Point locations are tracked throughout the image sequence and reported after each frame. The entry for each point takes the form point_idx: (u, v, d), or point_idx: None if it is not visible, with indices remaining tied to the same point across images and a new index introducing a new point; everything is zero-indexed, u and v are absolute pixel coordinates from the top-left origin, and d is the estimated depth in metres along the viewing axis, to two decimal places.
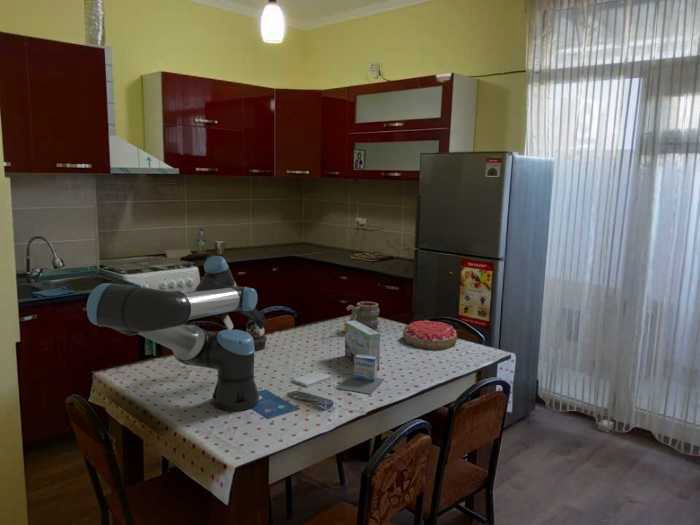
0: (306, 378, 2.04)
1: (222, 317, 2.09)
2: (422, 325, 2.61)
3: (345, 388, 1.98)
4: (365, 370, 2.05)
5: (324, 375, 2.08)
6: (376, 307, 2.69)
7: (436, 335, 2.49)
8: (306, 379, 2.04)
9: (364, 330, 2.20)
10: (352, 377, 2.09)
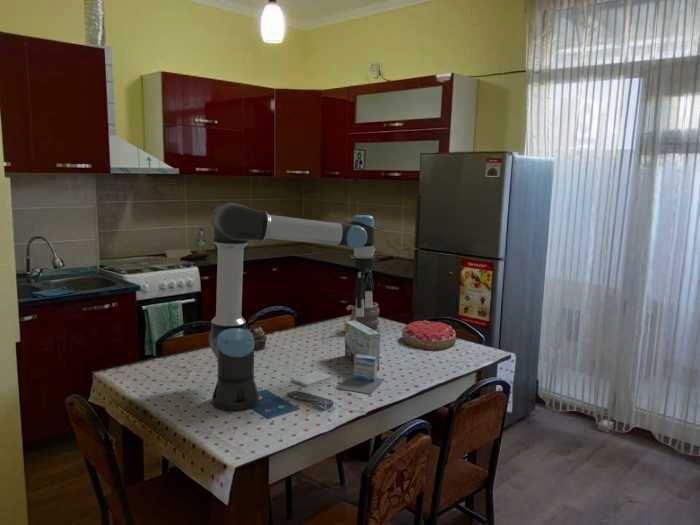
0: (306, 378, 2.04)
1: None
2: (421, 325, 2.61)
3: (345, 388, 1.98)
4: (365, 370, 2.05)
5: (324, 375, 2.08)
6: (376, 307, 2.69)
7: (435, 335, 2.49)
8: (306, 379, 2.04)
9: (364, 330, 2.20)
10: (352, 377, 2.09)
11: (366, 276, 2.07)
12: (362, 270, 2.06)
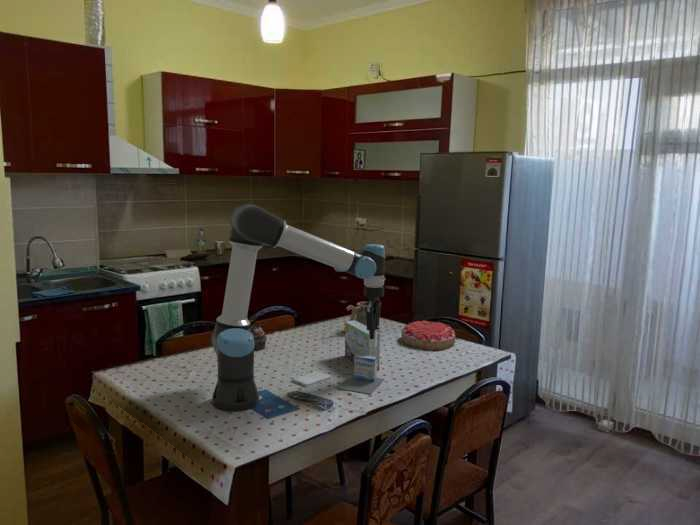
0: (306, 378, 2.05)
1: None
2: (420, 326, 2.60)
3: (345, 388, 1.98)
4: (365, 370, 2.05)
5: (324, 375, 2.08)
6: None
7: (435, 336, 2.48)
8: (306, 379, 2.04)
9: (364, 330, 2.20)
10: (352, 377, 2.09)
11: (375, 307, 2.08)
12: (371, 299, 2.06)
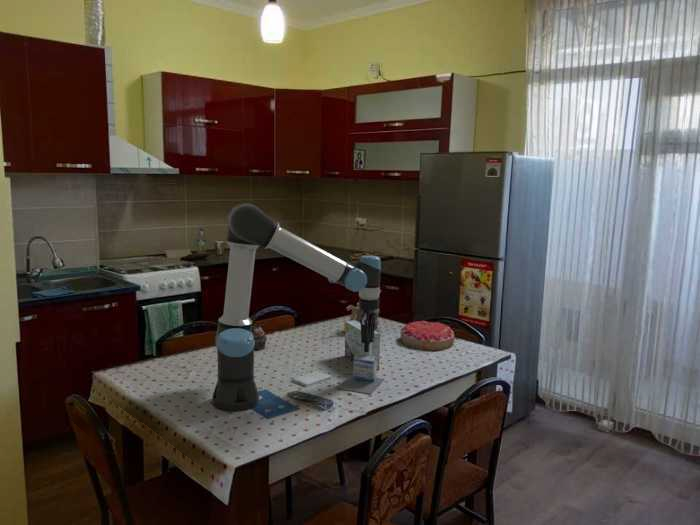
0: (306, 378, 2.05)
1: None
2: (419, 326, 2.60)
3: (345, 388, 1.98)
4: (365, 371, 2.04)
5: (325, 375, 2.08)
6: None
7: (434, 336, 2.48)
8: (307, 379, 2.04)
9: None
10: (352, 377, 2.09)
11: (370, 319, 2.04)
12: (366, 312, 2.02)
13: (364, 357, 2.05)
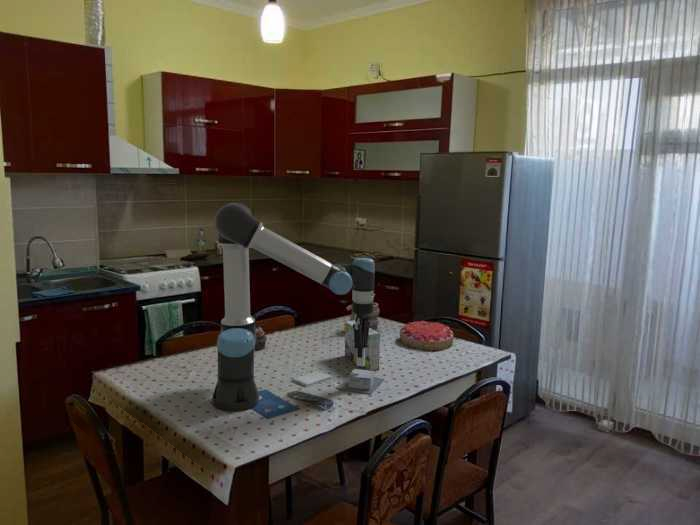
0: (307, 378, 2.05)
1: None
2: (419, 326, 2.59)
3: (345, 388, 1.98)
4: None
5: (325, 375, 2.08)
6: (376, 307, 2.69)
7: (433, 336, 2.48)
8: (307, 378, 2.04)
9: None
10: None
11: (364, 324, 1.97)
12: (359, 316, 1.95)
13: (358, 383, 1.97)
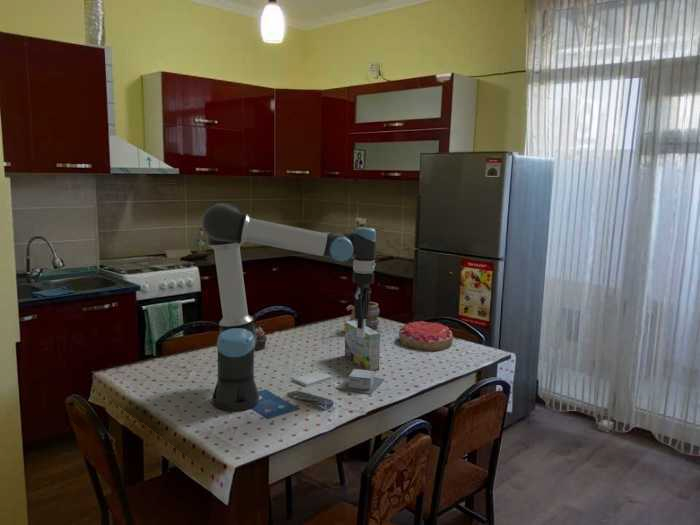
0: (307, 378, 2.05)
1: None
2: (418, 326, 2.59)
3: (345, 388, 1.98)
4: None
5: (325, 375, 2.08)
6: (376, 307, 2.69)
7: (432, 336, 2.47)
8: (307, 378, 2.04)
9: None
10: None
11: (365, 294, 1.95)
12: (360, 286, 1.93)
13: (358, 383, 1.97)
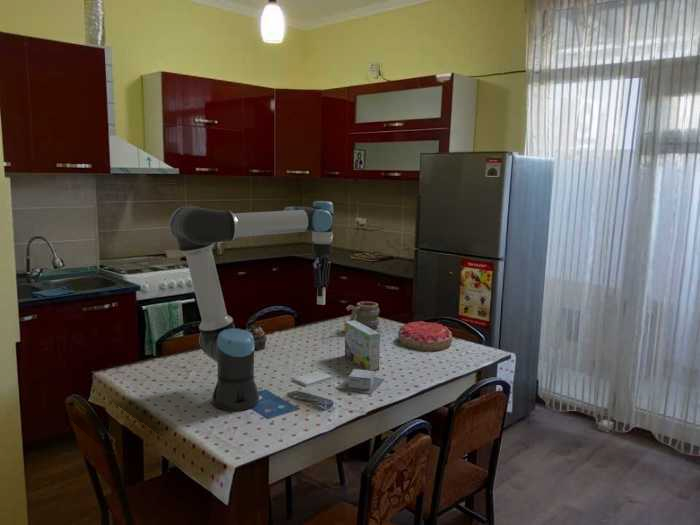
0: (307, 378, 2.05)
1: None
2: (417, 326, 2.59)
3: (345, 388, 1.98)
4: None
5: (325, 375, 2.08)
6: (376, 307, 2.69)
7: (431, 336, 2.47)
8: (307, 378, 2.04)
9: (364, 330, 2.20)
10: None
11: (323, 263, 2.08)
12: (318, 255, 2.06)
13: (358, 383, 1.97)
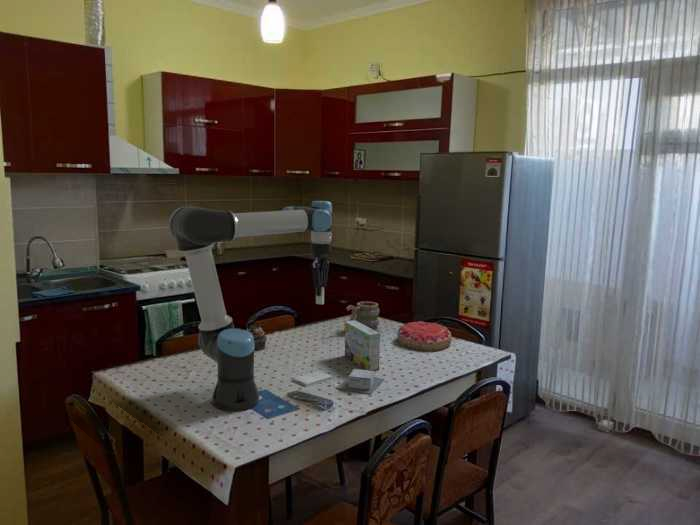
0: (307, 378, 2.05)
1: None
2: (416, 326, 2.59)
3: (345, 388, 1.98)
4: None
5: (325, 375, 2.08)
6: (376, 307, 2.69)
7: (431, 336, 2.47)
8: (307, 378, 2.04)
9: (364, 330, 2.20)
10: None
11: (322, 263, 2.08)
12: (317, 255, 2.06)
13: (358, 383, 1.97)
